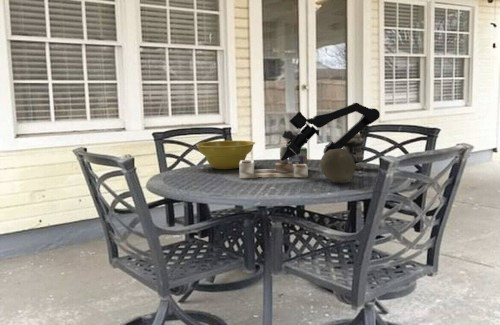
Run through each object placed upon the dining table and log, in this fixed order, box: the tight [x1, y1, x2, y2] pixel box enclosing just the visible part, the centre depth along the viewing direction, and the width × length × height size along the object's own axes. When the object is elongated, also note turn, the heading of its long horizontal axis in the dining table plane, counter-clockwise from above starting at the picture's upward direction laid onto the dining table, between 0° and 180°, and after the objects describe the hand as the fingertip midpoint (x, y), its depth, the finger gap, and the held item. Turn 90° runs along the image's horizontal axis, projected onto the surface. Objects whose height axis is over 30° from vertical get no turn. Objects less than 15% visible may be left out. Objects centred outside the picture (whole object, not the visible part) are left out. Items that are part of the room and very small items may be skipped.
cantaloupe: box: [320, 149, 356, 185], centre depth 217 cm, size 14×14×15 cm
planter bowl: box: [195, 140, 256, 170], centre depth 278 cm, size 32×32×13 cm
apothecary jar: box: [342, 132, 365, 171], centre depth 260 cm, size 12×12×18 cm
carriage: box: [275, 146, 293, 170], centre depth 244 cm, size 8×8×10 cm
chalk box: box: [288, 146, 309, 168], centre depth 260 cm, size 9×9×15 cm
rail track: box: [238, 159, 309, 179], centre depth 245 cm, size 32×12×8 cm, turn 88°
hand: (281, 159), depth 244 cm, fingers closed on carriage, 4 cm apart
